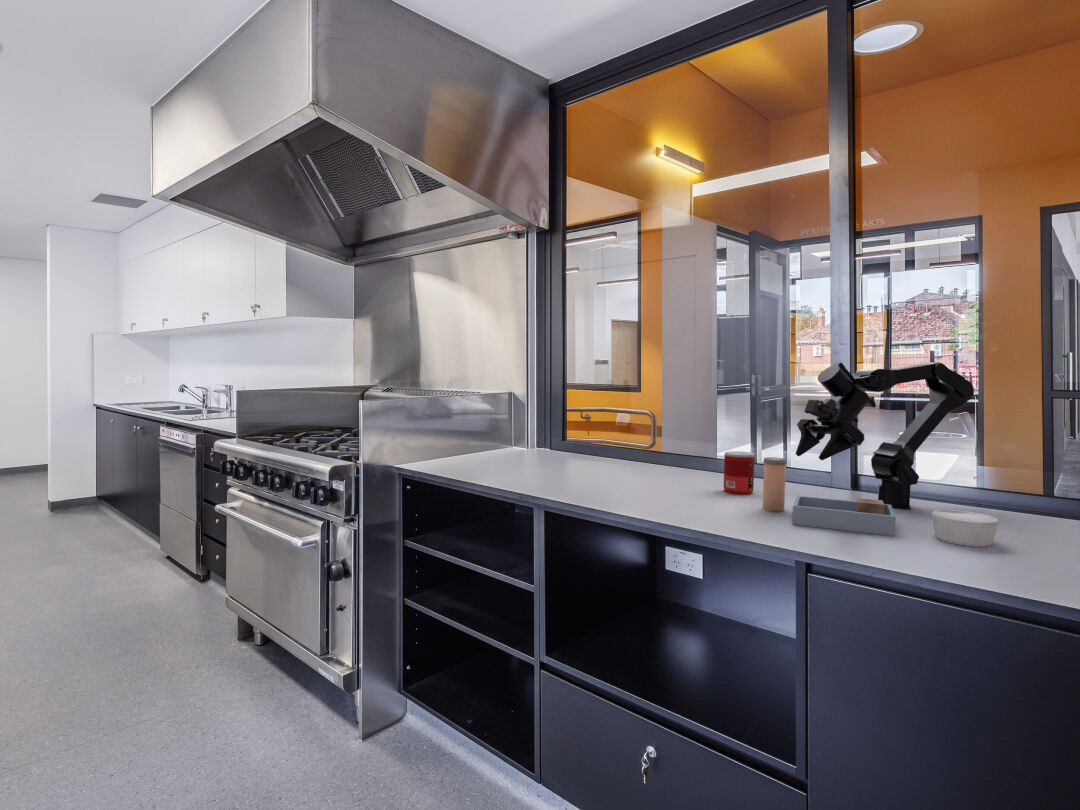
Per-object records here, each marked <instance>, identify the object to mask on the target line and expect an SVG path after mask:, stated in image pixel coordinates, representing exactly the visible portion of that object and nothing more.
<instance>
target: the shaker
mask: <svg viewBox="0 0 1080 810" xmlns="http://www.w3.org/2000/svg"><path fill="white" fill-rule="evenodd" d="M787 461H788V460H787V459H786V458H783V457H771V456H770V457H763V482H762V483H763V485H762V487H763V488H762V490H763V491H762V510H764V509H765V510H764V511H767V510H769V511H768V512H772V511H778V512H777V513H782V512H781V511H783V512H785V502H786V482H787V481H786V474H787Z"/></svg>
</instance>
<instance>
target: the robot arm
mask: <svg viewBox="0 0 1080 810" xmlns="http://www.w3.org/2000/svg"><path fill="white" fill-rule="evenodd" d="M923 380H924V381H925V384H926V387H927V388H928V389H929V390H930V392H929V401H928V402H927V404H926V405H925V406H924V407H923V408H922V410H921V411H920V413H918V415H916V416H915V418H914V419H913V420H912V422H910V424H909V425H908V426H907V427H906V428H905V429H904V431H903V432H902V434H901V435H899V437H898V438H896V440H895V441H894V442H885V441H882V443H880V445H879V446H878V448H877V449H876V450H875V451H873V452H872V454H873V456H872V457H871V460H870V462H871V468H872V471H873V474H874V477H875V480H880V484H879V485H878V486H877V487H878V489H877V500H883V503H884V504H889V505H892V508H898V509H900V508H901V509H908V510H910V509H911V508H912V507H911V503H910V502H911V487H912V485H917V483H918V482H919V479H920V475H919V473H917V471H915V470H914V469H913V465H914V464H915V463H914V462H915V453H916V452H917V450H918V449H919V448H920V447H921V446H922V444H923V443H924V442H925V441H926V440H927V438H929V436H930V435H931V434H932V433H933V432H934V430H935V429H936V427H937V426H938V425H940V423H941V422H942V421H943V420H944V419H945V417H946V416H947V415H948V414H949V413H951V412H953V411H955V410H957V409H959V408H961V407H963V406H964V405H966V403H968V402H969V401H970V400H971V399H972V398H973V396H974V393H975V392H974V391H975V390H974V386H973V384H972V383H971V381H970V380H968V379H966V377H964V376H963V375H961V374H959V373H958V372H955V371H954V370H952V369H950V368H949V367H948V366H946V365H945V364H944V363H943V362H938V361H937V362H936V361H935V362H934V361H933V362H932V361H931V362H929V361H928V362H926V361H925V362H924V363H920V364H913V365H908V366H907V365H906V366H902V367H895V368H859V369H857V370H856V371H855V373H853V374H852V373H851V372H850V371H849V370H848V369H847V368H846V367H845V365H844V364H843V362H841V361H840V362H834V364H833V365H831V366H828V367H826V368H825V369H824V370H822V371H820V373H819V374H818V376H817V381H818V382H819V383H820V384H821V385H822V387H823V388H824V389H825V390H826V391H827V392H828V393H829V394H830V395H831V396H832V397H835V398H836V397H837V398H838V397H840V398H838V400H837V401H836V400H834V399H833V398H832V399H831V398H826V399H824V400H819V399H808V400H807V403H806V405H805V409H804V411H803V412H804V413H806V414H810V415H812V416H813V417H816V418H815V419H816V420H817V421H816V420H815V419H812V418H801V419H799V421H798V422H797V424H796V426H797V428H798V430H799V431H800V439H799V442H798V445H797V448H796V451H795V455H796V456H797V457H800V456H802V455H804V454H805V453H807V452H808V451H809V450H811V449H813V448H814V447H815V446H816V445H818V444H820V443H821V440H823V439H824V438H825V437H826V435H830V438H829V440H828V442H826V444H825V446H824V448H823V449H822V451H821V452H820V454H819V456H818V459H819V460H820V461H824V460H826V459H829V458H831V457H833V456H835V455H836V454H839V453H841V452H844V451H847V450H848V449H851V448H855V447H856V446H857V447H859V446H862V444H863V443H864V442H865V434H864V432H863V431H862V430H860V429H859V427H857V425H855V424H857V423H858V422H859V421H860V420H859V419H858V416H859V415H860V414H861V412H862V411H863V410H864V409H865V408H873V409H874V408H877V407H876V406H877V403H876V401H875V397H874V396H871V395H869V394H868V393H867V392H869V393H882V392H884V391H886V390H890V389H892V388H893V387H894V386H896V385H900V384H905V383H911V382H916V381H917V382H918V381H923ZM819 423H820V424H819Z"/></svg>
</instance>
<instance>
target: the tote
mask: <svg viewBox="0 0 1080 810" xmlns="http://www.w3.org/2000/svg"><path fill="white" fill-rule="evenodd" d="M896 518H897V517H896V514H895V511H894V507H892V505H889V504H884V515H882V514H872V513H863V512H857V500H845V499H838V498H837V499H836V498H825V497H817V496H816V497H815V496H814V497H813V496H804V495H796V497H795V500H794V502H793V505H792V519H791V521H792V523H791V524H792V525H797V526H804V527H805V526H806V527H813V528H820V527H821V528H822V529H829V528H830V529H831V530H837V529H839V531H846V530H847V531H846V532H855V533H856V532H857V533H863V532H864V534H871V533H873V534H875V535H880V534H881V536H888V535H889V537H890V536H891V537H896ZM873 534H872V535H873Z"/></svg>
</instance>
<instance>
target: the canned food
mask: <svg viewBox="0 0 1080 810" xmlns="http://www.w3.org/2000/svg"><path fill="white" fill-rule="evenodd" d="M723 457H724V459H723V460H724V462H723V491H724V492H726V493H727V492H728V494H732V493H733V494H735V495H751V494H753V492H754V484H755V483H754V482H755V481H754V479H755V453H754V452H750V451H741V450H740V451H739V450H738V451H737V450H735V451H734V450H732V451H725V452H724V456H723Z"/></svg>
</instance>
